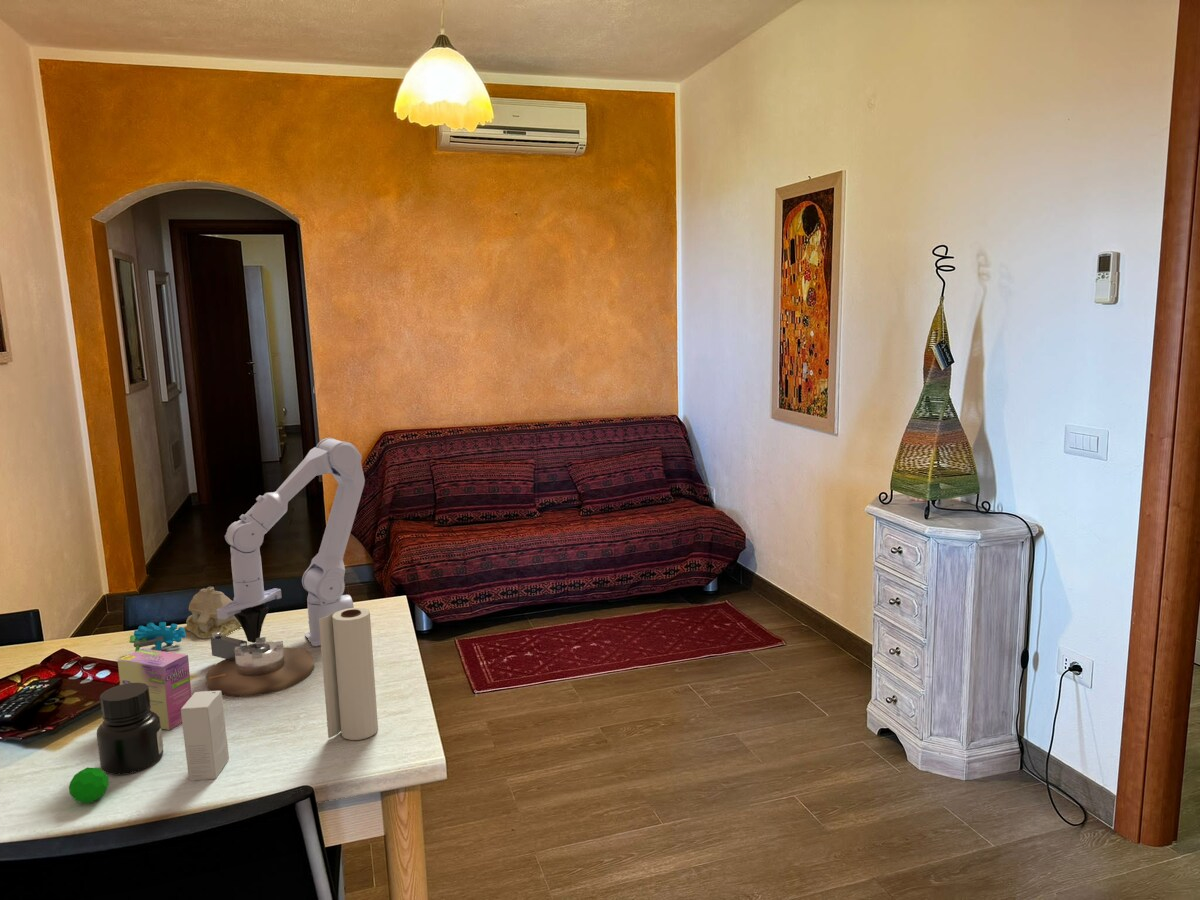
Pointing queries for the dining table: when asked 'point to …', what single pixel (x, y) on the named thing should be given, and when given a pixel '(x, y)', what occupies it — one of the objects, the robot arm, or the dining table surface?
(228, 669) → the nut base plate
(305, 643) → the dining table surface
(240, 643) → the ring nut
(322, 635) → the paper towel roll
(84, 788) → the polyhedron
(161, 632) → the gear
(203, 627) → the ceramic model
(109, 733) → the ink bottle
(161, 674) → the box
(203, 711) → the skincare box
